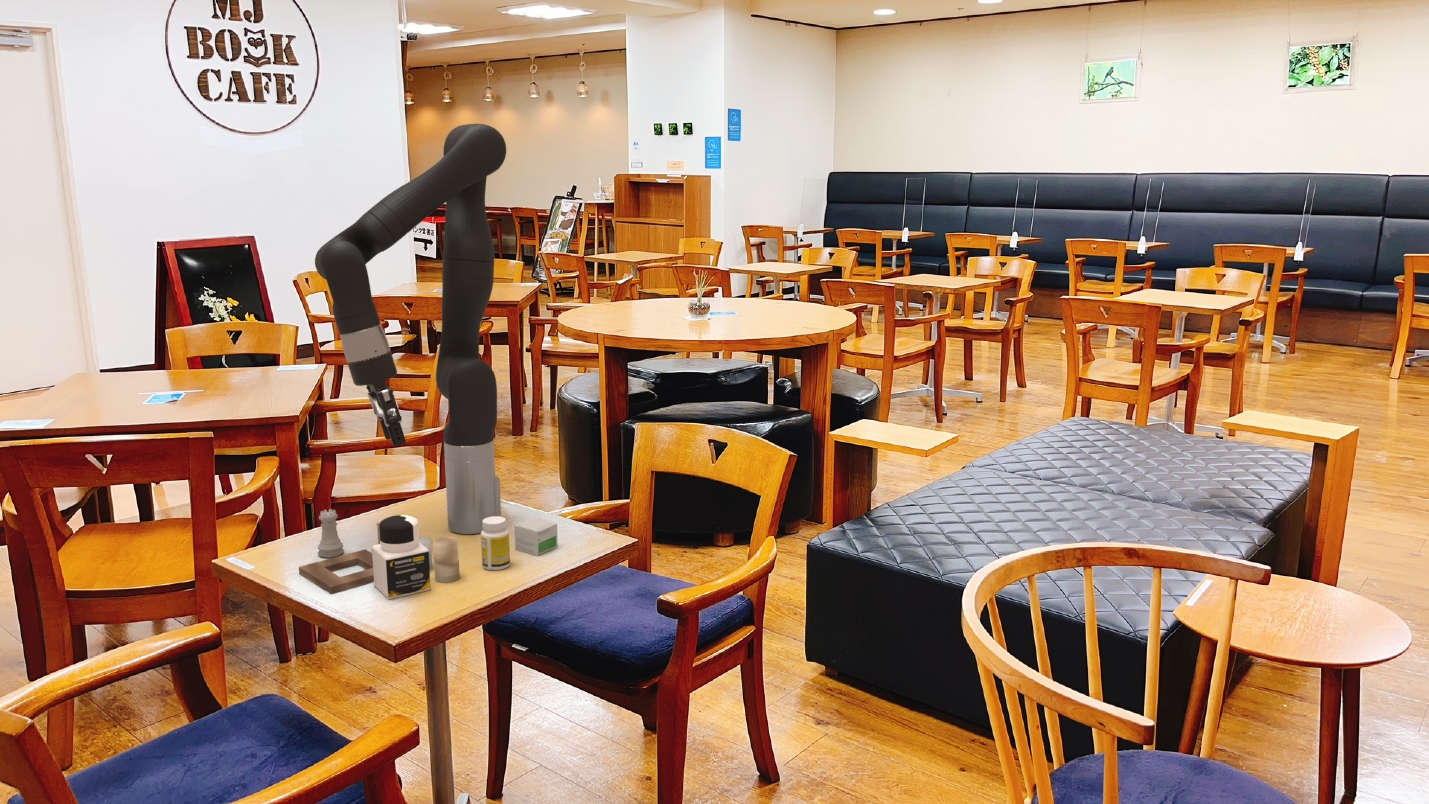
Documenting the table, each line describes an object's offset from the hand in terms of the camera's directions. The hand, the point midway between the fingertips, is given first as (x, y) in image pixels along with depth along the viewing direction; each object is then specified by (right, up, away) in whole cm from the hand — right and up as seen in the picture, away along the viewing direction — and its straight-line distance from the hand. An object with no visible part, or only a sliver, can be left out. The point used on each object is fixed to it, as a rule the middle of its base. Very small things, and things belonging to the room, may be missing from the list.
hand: (395, 441), depth 182 cm
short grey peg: (+6, -22, -5) cm, 23 cm away
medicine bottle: (+5, -24, -13) cm, 28 cm away
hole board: (-5, -22, -8) cm, 24 cm away
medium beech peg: (+12, -23, -9) cm, 27 cm away
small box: (+24, -20, +5) cm, 32 cm away
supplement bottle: (+19, -22, -4) cm, 29 cm away
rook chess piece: (-12, -20, +1) cm, 23 cm away
